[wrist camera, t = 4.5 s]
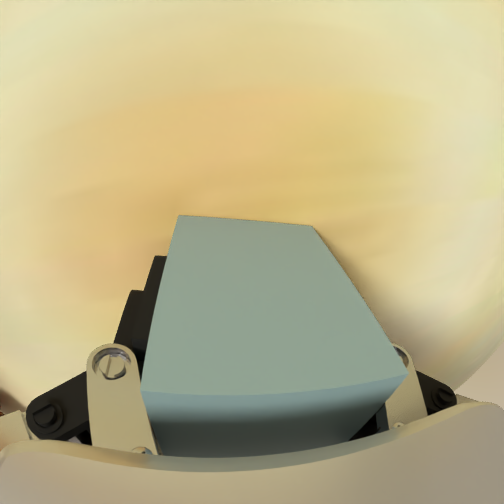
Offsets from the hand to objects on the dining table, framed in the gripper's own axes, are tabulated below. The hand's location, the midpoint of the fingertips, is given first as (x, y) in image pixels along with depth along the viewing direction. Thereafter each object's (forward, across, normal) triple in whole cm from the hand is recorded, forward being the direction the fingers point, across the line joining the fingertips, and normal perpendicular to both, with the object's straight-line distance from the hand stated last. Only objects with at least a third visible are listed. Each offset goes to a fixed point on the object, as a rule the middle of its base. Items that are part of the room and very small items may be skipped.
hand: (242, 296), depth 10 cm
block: (+1, 0, 0) cm, 1 cm away
